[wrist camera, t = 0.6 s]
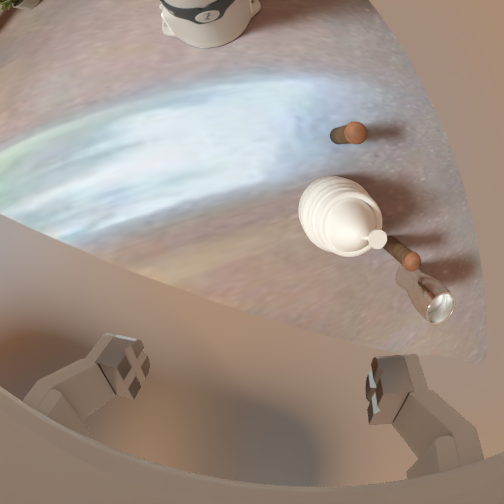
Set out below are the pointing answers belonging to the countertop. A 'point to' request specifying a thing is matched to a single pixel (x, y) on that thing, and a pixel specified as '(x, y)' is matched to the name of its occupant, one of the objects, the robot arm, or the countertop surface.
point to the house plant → (20, 4)
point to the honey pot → (341, 217)
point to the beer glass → (427, 295)
